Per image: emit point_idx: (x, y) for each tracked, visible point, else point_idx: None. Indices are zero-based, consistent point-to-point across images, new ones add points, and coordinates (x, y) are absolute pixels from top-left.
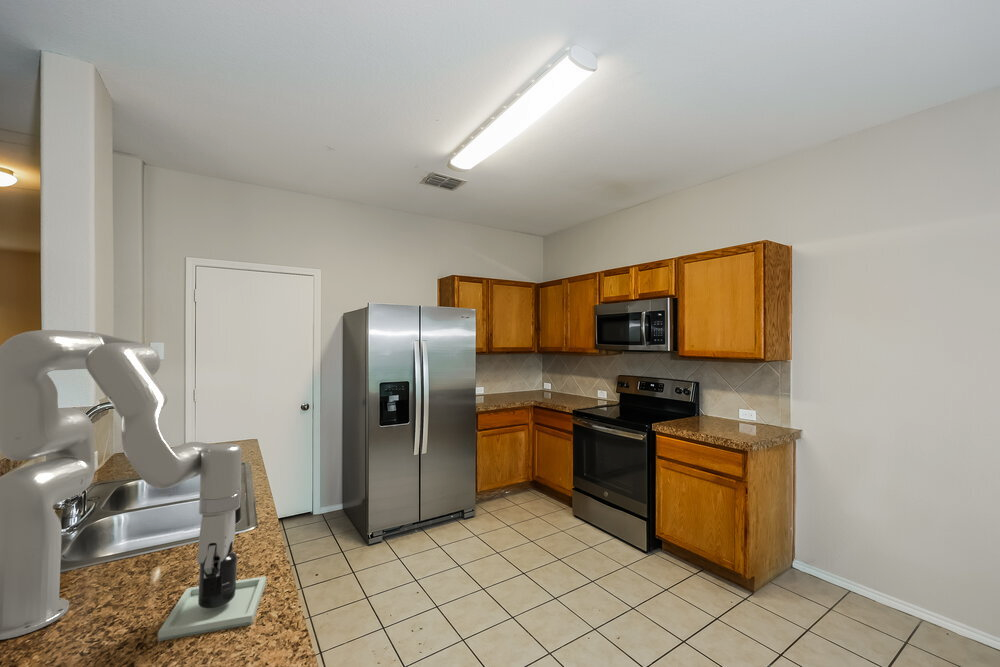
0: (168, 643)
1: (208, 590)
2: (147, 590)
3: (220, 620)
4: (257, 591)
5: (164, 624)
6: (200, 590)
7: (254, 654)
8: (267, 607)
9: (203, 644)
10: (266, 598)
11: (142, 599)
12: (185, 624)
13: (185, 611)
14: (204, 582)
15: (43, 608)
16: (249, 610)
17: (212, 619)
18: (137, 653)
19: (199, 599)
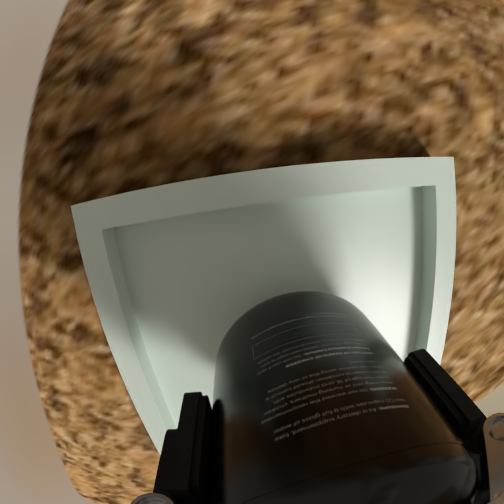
0: (78, 249)
1: (167, 445)
2: (467, 12)
3: (141, 412)
4: None
5: (120, 200)
6: (238, 370)
7: (70, 458)
8: None
9: (78, 365)
10: None
11: (421, 4)
12: (115, 300)
13: (283, 217)
14: (174, 462)
15: None
16: None
17: (147, 388)
18: (40, 166)
19: (240, 332)
